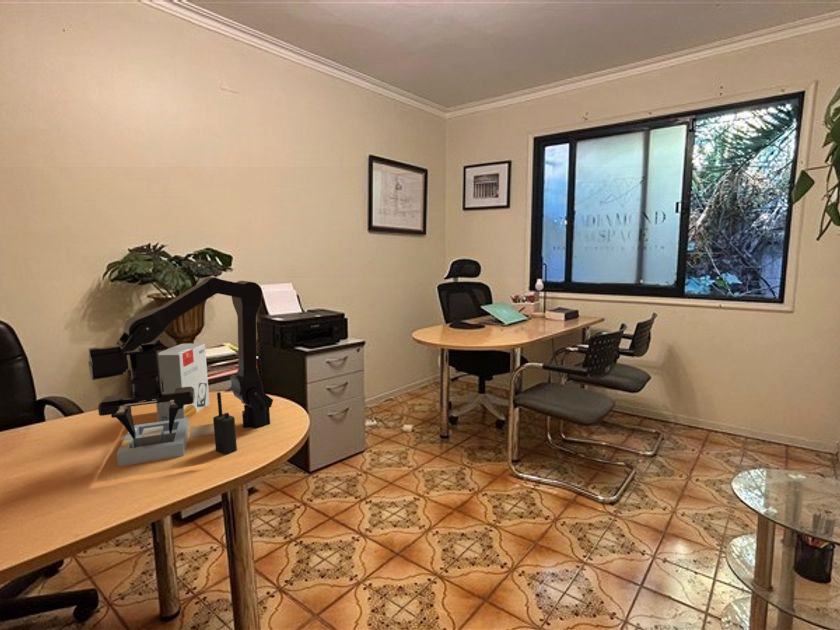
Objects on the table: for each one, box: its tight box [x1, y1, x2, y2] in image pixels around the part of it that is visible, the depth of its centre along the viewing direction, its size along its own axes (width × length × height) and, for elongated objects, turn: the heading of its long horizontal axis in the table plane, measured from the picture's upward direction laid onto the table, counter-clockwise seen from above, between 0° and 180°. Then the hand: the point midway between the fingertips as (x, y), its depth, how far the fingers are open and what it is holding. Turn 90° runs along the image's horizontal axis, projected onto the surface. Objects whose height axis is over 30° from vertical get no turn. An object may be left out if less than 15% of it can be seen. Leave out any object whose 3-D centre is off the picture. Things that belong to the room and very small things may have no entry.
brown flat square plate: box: [189, 423, 215, 439], centre depth 121 cm, size 7×8×1 cm
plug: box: [141, 426, 165, 446], centre depth 108 cm, size 4×4×5 cm
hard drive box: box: [155, 343, 211, 422], centre depth 132 cm, size 16×8×20 cm, turn 179°
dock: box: [116, 418, 190, 467], centre depth 112 cm, size 13×17×4 cm
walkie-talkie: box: [212, 391, 238, 455], centre depth 108 cm, size 5×3×15 cm
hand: (152, 435), depth 108 cm, fingers open, 7 cm apart
